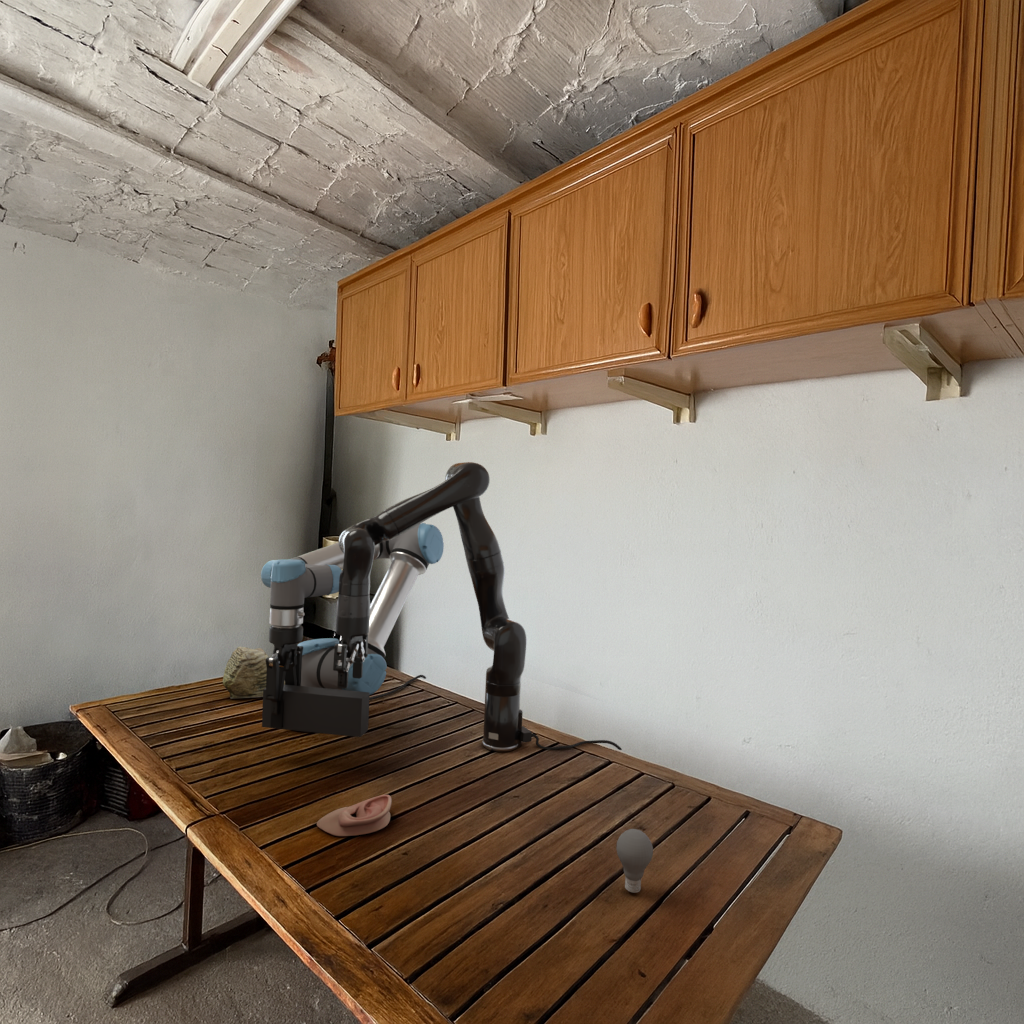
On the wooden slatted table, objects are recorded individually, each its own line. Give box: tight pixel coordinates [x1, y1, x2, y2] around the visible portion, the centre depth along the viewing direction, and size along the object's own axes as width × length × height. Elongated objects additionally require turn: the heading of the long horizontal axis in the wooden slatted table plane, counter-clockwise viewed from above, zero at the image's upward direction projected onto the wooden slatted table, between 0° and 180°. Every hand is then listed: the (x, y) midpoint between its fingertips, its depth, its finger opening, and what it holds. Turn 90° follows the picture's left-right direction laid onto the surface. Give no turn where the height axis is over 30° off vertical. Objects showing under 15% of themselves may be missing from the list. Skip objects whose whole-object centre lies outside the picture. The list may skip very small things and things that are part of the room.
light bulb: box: [615, 828, 654, 894], centre depth 106 cm, size 6×6×10 cm
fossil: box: [222, 646, 285, 699], centre depth 198 cm, size 9×18×15 cm, turn 132°
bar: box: [261, 685, 371, 738], centre depth 149 cm, size 24×5×9 cm, turn 81°
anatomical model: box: [316, 794, 393, 837], centre depth 124 cm, size 13×4×12 cm
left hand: (282, 723), depth 150 cm, fingers closed on bar, 5 cm apart
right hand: (350, 682), depth 147 cm, fingers open, 8 cm apart
